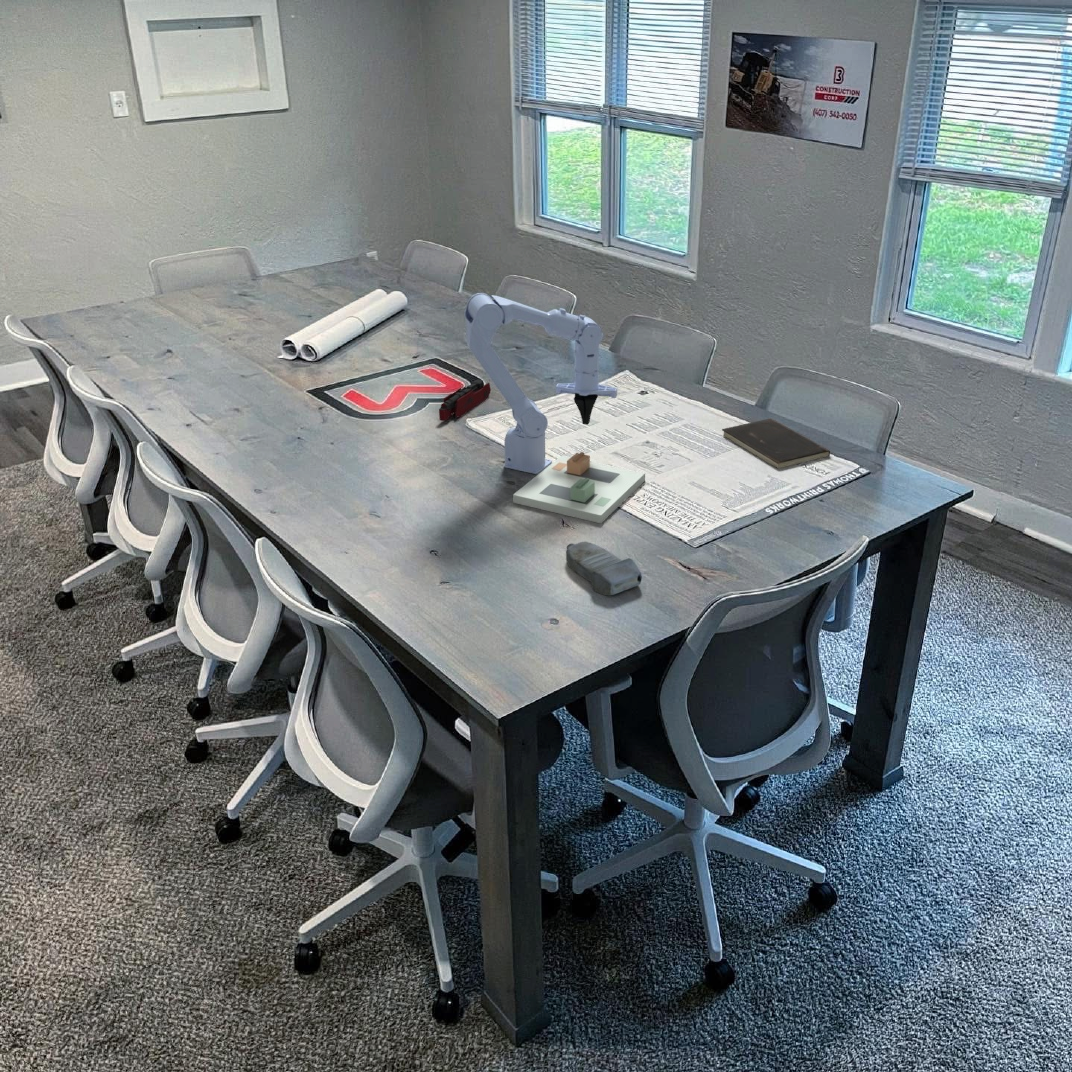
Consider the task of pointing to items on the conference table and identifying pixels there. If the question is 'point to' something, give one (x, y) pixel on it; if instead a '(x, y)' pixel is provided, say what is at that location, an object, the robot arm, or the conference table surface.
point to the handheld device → (603, 568)
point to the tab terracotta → (578, 463)
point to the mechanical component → (464, 399)
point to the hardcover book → (775, 443)
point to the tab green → (582, 490)
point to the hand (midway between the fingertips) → (586, 422)
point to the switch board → (555, 484)
